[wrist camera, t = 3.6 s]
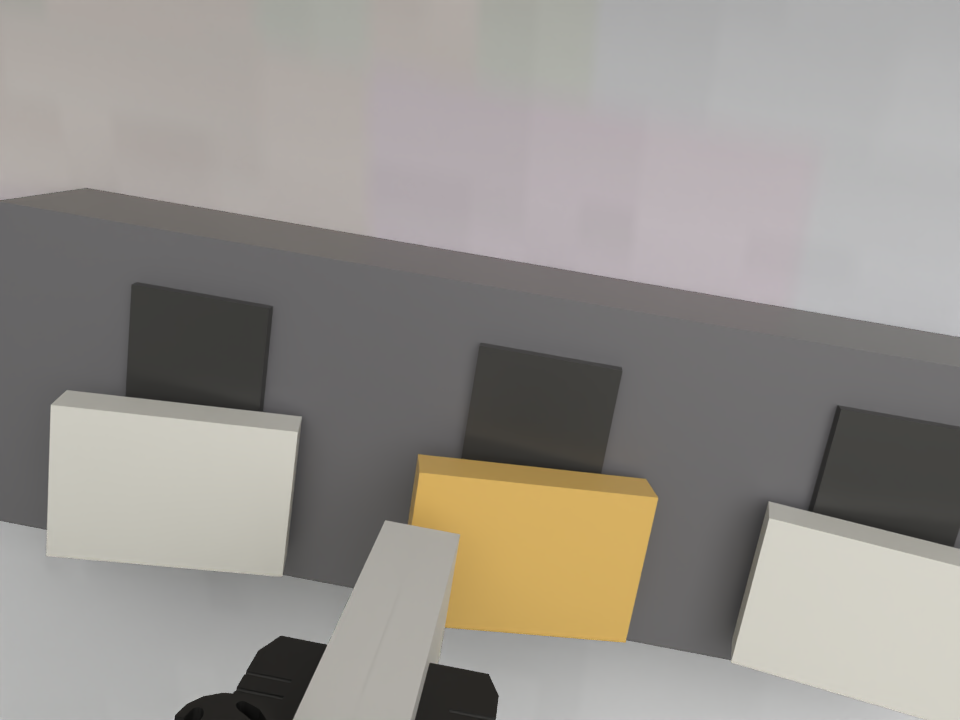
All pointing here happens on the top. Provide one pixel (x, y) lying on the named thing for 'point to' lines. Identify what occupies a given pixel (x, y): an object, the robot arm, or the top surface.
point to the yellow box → (537, 545)
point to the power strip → (475, 385)
